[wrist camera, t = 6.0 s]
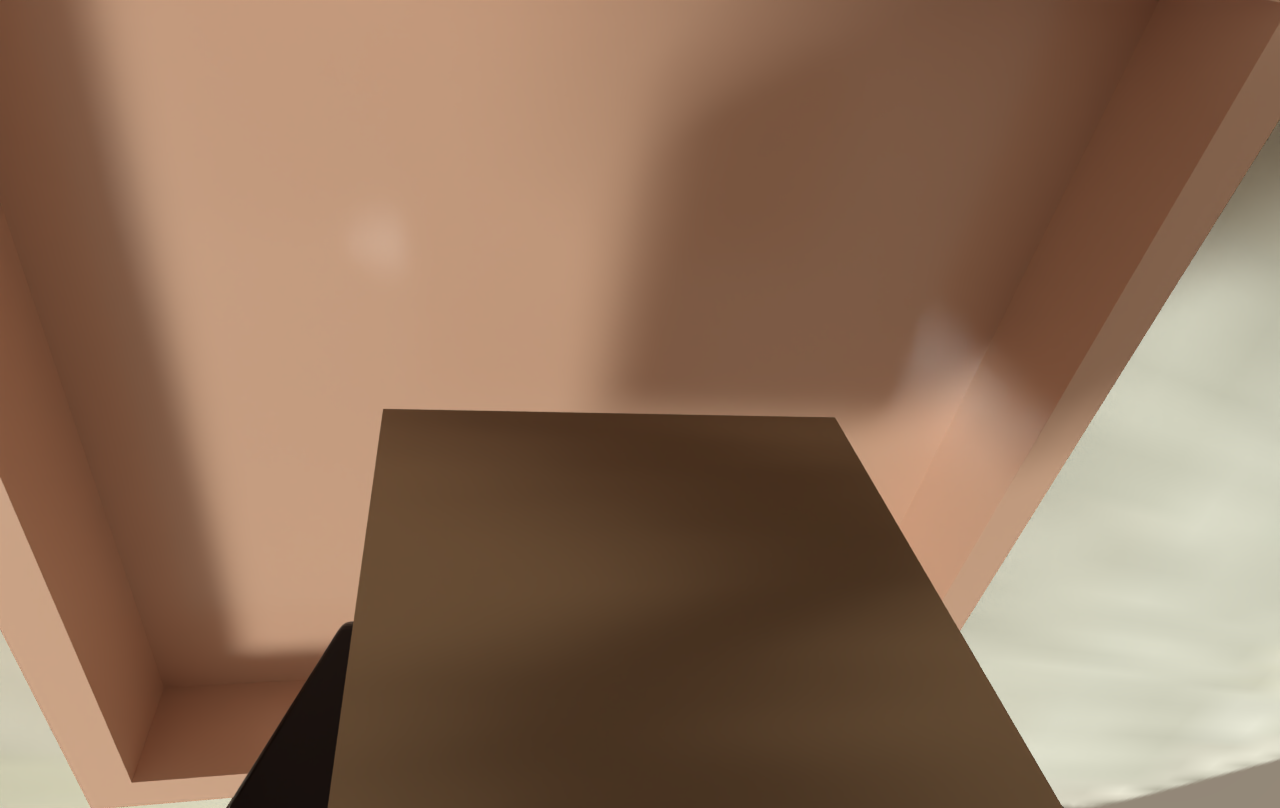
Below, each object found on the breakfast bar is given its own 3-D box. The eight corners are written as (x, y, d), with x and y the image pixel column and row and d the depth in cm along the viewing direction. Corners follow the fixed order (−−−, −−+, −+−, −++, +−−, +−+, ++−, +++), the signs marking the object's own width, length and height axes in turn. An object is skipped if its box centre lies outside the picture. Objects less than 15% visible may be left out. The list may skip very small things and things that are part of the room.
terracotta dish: (1223, -93, 10) (1396, -68, 8) (849, 648, 20) (890, 741, 18) (-267, -401, 7) (-561, -479, 5) (137, 686, 16) (91, 809, 14)
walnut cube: (834, 416, 9) (1105, 883, 5) (736, 673, 12) (864, 1093, 8) (382, 408, 8) (301, 996, 4) (396, 694, 11) (355, 1194, 7)
